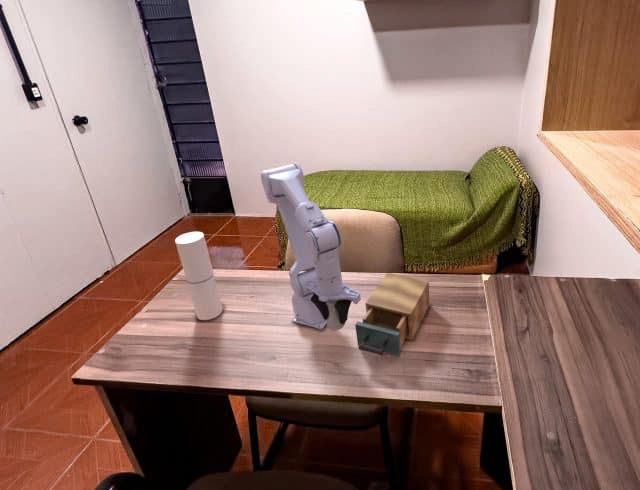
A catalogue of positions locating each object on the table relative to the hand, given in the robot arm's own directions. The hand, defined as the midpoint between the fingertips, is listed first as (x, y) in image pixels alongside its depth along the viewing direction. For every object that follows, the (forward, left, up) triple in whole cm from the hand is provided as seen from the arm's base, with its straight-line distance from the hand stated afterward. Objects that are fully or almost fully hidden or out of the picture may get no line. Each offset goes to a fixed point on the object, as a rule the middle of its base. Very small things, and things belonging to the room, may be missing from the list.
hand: (335, 319), depth 95 cm
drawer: (+10, +7, -9) cm, 15 cm away
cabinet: (+10, +16, -10) cm, 21 cm away
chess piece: (0, 0, -2) cm, 2 cm away
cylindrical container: (-44, -1, -10) cm, 45 cm away
